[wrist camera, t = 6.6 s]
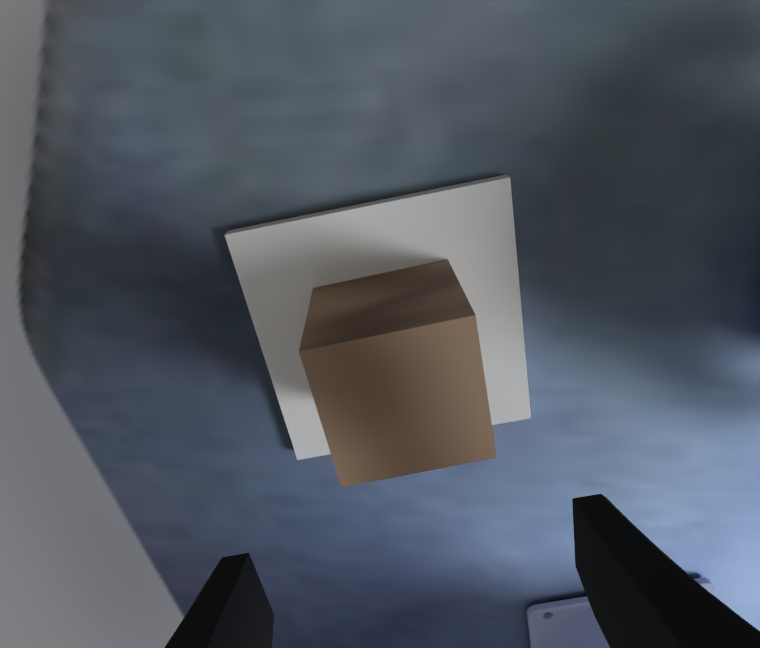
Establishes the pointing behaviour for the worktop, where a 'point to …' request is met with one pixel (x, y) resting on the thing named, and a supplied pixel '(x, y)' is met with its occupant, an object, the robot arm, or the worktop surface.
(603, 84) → the worktop surface
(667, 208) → the worktop surface
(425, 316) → the walnut block
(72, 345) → the worktop surface
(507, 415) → the cream tile
